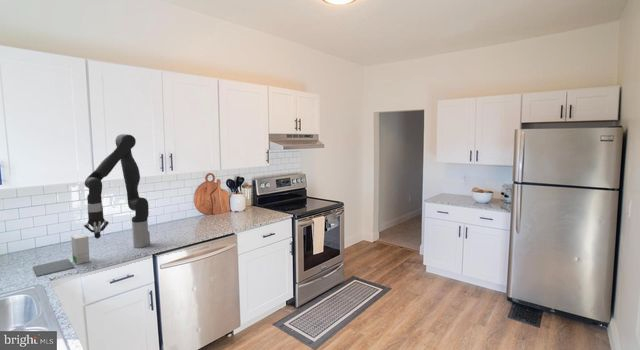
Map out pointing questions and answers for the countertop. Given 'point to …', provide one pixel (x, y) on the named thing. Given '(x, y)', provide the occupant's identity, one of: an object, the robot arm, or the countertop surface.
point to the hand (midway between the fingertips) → (97, 238)
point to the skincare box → (80, 248)
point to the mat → (53, 267)
